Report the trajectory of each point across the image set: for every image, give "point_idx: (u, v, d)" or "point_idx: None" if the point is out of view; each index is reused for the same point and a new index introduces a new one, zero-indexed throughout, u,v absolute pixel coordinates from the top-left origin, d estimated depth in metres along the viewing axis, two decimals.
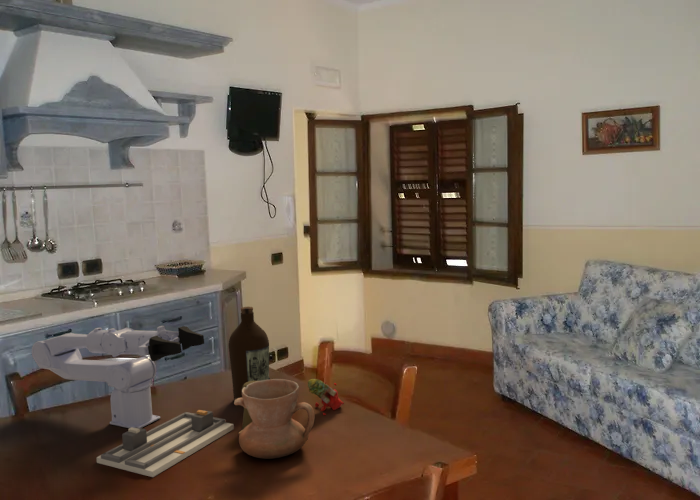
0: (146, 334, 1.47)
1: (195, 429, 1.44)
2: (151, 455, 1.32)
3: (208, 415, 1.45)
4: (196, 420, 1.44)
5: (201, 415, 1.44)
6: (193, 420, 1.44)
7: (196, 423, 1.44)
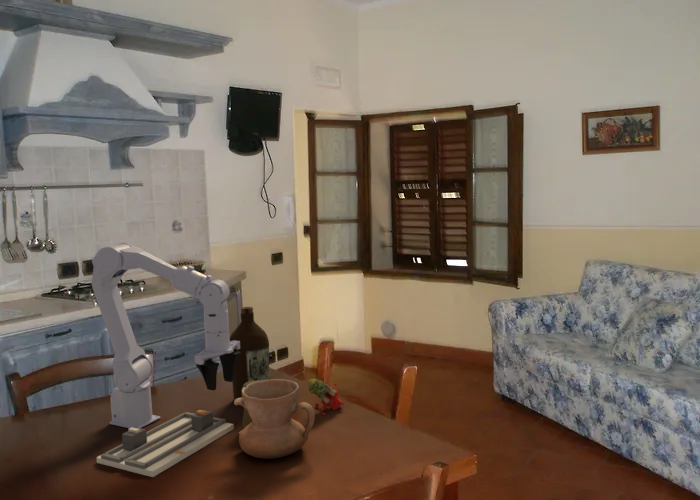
0: (221, 338, 1.47)
1: (195, 429, 1.44)
2: (151, 455, 1.32)
3: (208, 415, 1.45)
4: (196, 420, 1.44)
5: (201, 415, 1.44)
6: (193, 420, 1.44)
7: (196, 423, 1.44)
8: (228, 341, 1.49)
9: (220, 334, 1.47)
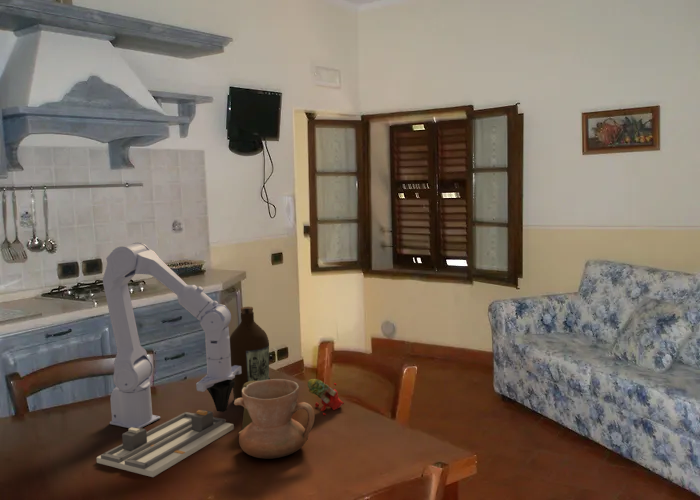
0: (222, 364, 1.48)
1: (195, 429, 1.44)
2: (151, 455, 1.32)
3: (208, 415, 1.45)
4: (196, 420, 1.44)
5: (201, 415, 1.44)
6: (193, 420, 1.44)
7: (196, 423, 1.44)
8: (229, 367, 1.50)
9: (222, 360, 1.48)
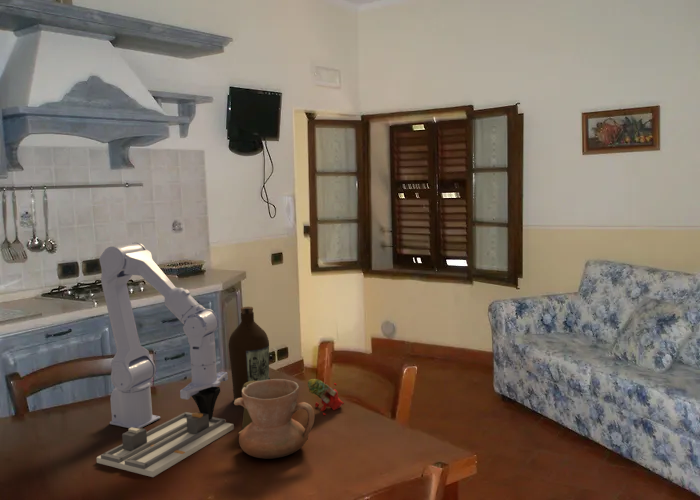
0: (207, 371, 1.43)
1: (190, 432, 1.43)
2: (151, 455, 1.32)
3: (203, 417, 1.44)
4: (191, 422, 1.42)
5: (196, 417, 1.43)
6: (188, 422, 1.43)
7: (191, 425, 1.42)
8: (215, 374, 1.45)
9: (206, 367, 1.43)
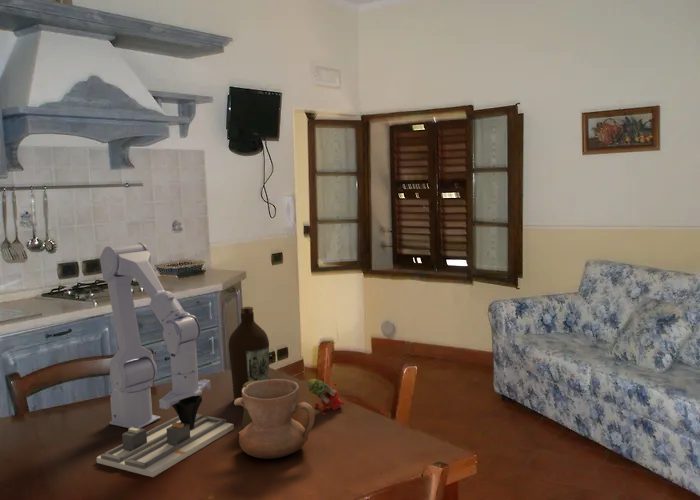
0: (188, 380, 1.37)
1: (170, 443, 1.37)
2: (151, 455, 1.32)
3: (184, 428, 1.38)
4: (171, 433, 1.37)
5: (177, 428, 1.37)
6: (168, 433, 1.37)
7: (171, 436, 1.37)
8: (196, 382, 1.39)
9: (187, 375, 1.37)
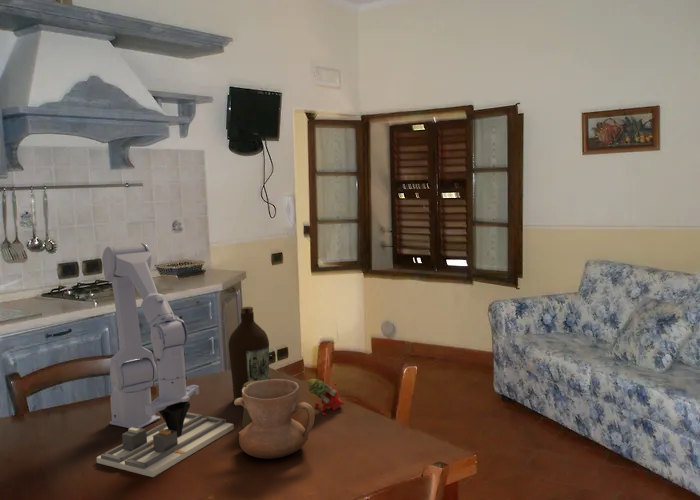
0: (175, 385, 1.34)
1: (157, 450, 1.34)
2: (151, 455, 1.32)
3: (171, 435, 1.34)
4: (158, 440, 1.33)
5: (164, 435, 1.34)
6: (155, 440, 1.34)
7: (158, 443, 1.33)
8: (184, 388, 1.36)
9: (174, 381, 1.34)
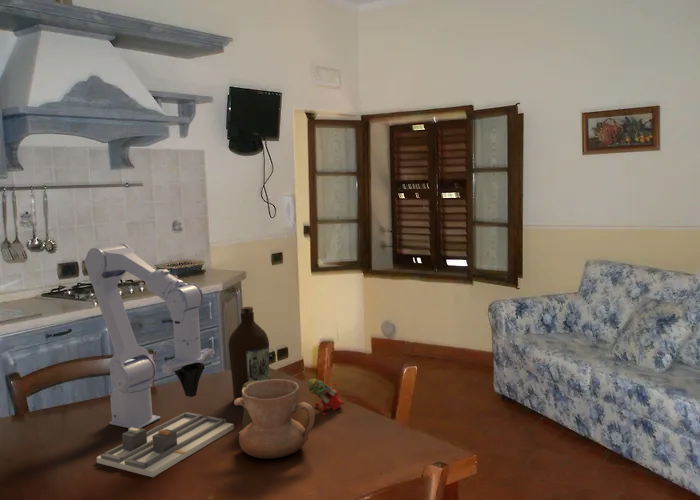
0: (191, 346, 1.40)
1: (156, 450, 1.33)
2: (151, 455, 1.32)
3: (170, 435, 1.34)
4: (157, 441, 1.33)
5: (163, 435, 1.34)
6: (154, 440, 1.33)
7: (157, 444, 1.33)
8: (199, 349, 1.42)
9: (190, 342, 1.40)
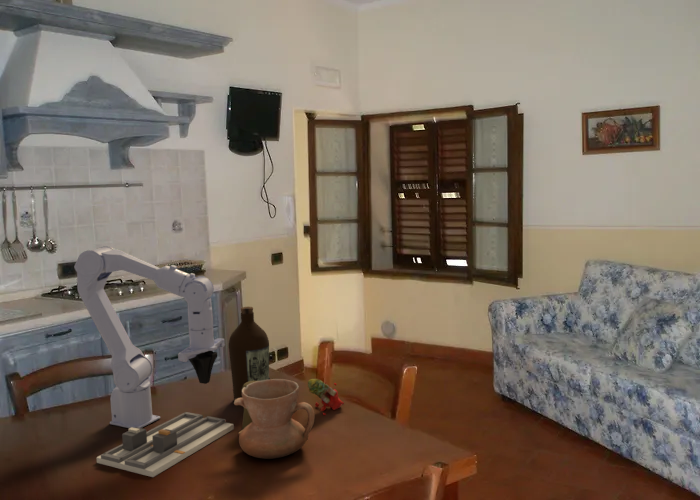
0: (205, 335, 1.48)
1: (156, 450, 1.33)
2: (151, 455, 1.32)
3: (170, 435, 1.34)
4: (157, 441, 1.33)
5: (163, 435, 1.34)
6: (154, 440, 1.33)
7: (157, 444, 1.33)
8: (212, 338, 1.50)
9: (204, 331, 1.48)
